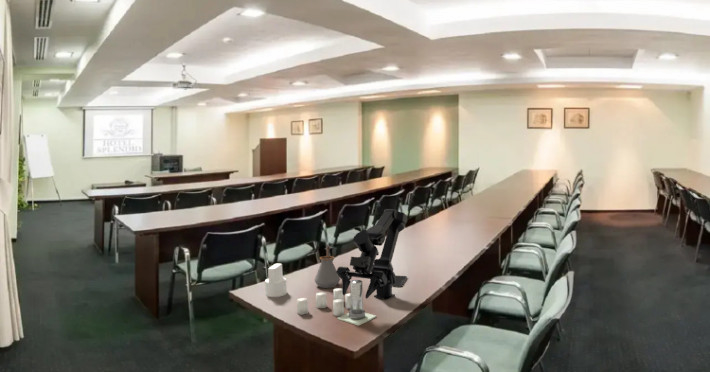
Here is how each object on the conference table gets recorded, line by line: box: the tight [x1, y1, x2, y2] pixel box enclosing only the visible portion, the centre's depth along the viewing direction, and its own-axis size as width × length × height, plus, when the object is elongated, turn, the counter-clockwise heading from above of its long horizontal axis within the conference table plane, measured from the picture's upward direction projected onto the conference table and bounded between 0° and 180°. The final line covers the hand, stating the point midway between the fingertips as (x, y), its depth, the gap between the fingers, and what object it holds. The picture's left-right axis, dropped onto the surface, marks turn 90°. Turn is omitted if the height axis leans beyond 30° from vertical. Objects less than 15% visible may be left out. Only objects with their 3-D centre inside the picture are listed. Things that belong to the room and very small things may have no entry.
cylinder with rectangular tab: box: [264, 263, 288, 298], centre depth 196 cm, size 9×9×12 cm
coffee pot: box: [314, 245, 341, 289], centre depth 210 cm, size 21×12×15 cm, turn 0°
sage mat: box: [337, 312, 377, 326], centre depth 166 cm, size 10×10×1 cm
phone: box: [392, 275, 408, 288], centre depth 209 cm, size 8×1×15 cm
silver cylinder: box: [348, 279, 366, 320], centre depth 165 cm, size 6×6×13 cm
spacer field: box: [296, 287, 351, 317], centre depth 175 cm, size 21×16×5 cm
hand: (354, 296), depth 164 cm, fingers open, 9 cm apart
